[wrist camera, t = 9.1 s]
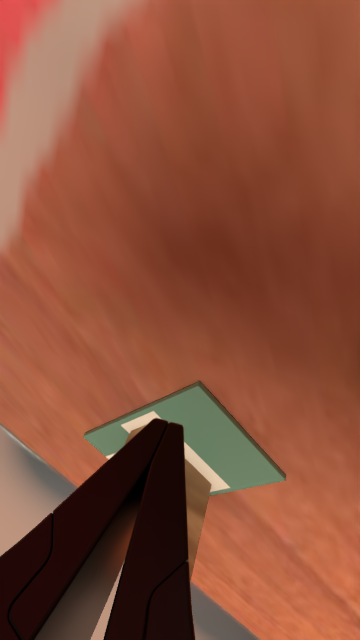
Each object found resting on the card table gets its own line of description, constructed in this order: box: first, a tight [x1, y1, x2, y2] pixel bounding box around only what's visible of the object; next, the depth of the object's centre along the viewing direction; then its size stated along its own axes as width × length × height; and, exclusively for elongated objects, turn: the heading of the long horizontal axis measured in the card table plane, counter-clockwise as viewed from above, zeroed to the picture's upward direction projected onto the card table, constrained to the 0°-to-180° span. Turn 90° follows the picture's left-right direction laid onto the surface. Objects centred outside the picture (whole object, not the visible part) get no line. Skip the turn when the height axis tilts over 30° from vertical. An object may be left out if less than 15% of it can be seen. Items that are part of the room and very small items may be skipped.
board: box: [83, 381, 286, 496], centre depth 32 cm, size 16×12×1 cm
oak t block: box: [123, 425, 212, 581], centre depth 30 cm, size 8×9×8 cm
